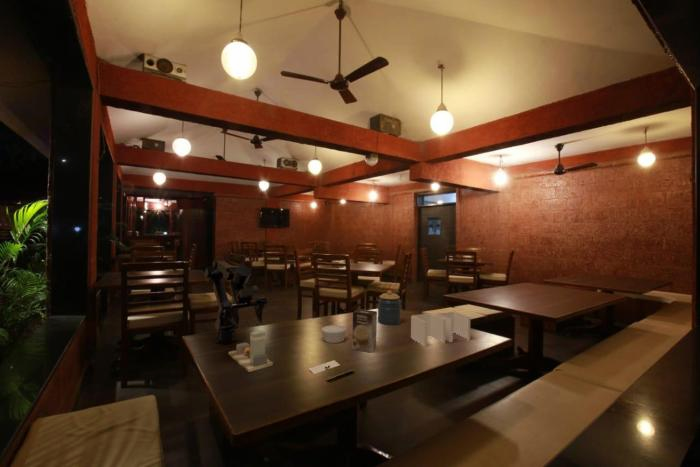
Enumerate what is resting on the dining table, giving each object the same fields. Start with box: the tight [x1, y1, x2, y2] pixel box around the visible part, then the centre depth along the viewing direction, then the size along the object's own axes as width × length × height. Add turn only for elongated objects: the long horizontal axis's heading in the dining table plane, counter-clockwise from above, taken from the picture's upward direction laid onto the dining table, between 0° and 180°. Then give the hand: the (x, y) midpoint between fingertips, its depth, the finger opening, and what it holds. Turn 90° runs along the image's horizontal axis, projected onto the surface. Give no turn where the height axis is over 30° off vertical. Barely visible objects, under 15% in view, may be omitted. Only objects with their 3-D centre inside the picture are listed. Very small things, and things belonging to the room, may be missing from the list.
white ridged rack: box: [235, 342, 268, 367], centre depth 121 cm, size 18×5×3 cm, turn 40°
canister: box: [377, 290, 402, 326], centre depth 176 cm, size 13×13×18 cm
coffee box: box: [351, 308, 378, 354], centre depth 135 cm, size 9×6×16 cm
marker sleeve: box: [249, 329, 266, 364], centre depth 116 cm, size 3×4×11 cm
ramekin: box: [321, 324, 347, 344], centre depth 146 cm, size 11×11×5 cm
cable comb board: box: [228, 349, 274, 373], centre depth 122 cm, size 20×9×1 cm, turn 40°
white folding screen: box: [410, 311, 471, 347], centre depth 148 cm, size 25×11×11 cm, turn 111°
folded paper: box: [308, 360, 355, 381], centre depth 112 cm, size 12×12×2 cm
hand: (249, 324), depth 122 cm, fingers open, 9 cm apart
